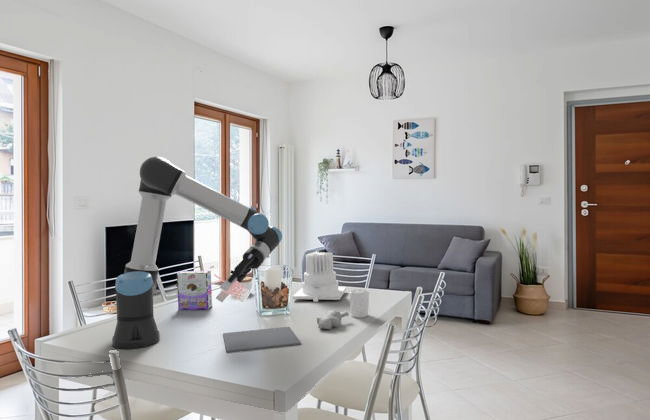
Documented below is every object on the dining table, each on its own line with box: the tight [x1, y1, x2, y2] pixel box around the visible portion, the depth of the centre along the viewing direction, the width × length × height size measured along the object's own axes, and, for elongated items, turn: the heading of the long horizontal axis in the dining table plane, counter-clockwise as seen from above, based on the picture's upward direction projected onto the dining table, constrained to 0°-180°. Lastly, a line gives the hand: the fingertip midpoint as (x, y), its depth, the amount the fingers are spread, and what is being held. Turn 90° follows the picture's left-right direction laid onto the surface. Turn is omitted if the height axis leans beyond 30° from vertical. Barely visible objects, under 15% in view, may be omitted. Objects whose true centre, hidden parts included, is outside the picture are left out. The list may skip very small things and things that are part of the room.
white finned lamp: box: [292, 251, 347, 303], centre depth 226 cm, size 25×22×21 cm
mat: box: [222, 326, 302, 354], centre depth 162 cm, size 20×24×1 cm
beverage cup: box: [213, 274, 252, 303], centre depth 166 cm, size 6×6×14 cm
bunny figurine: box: [316, 309, 350, 330], centre depth 177 cm, size 10×5×15 cm
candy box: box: [176, 270, 213, 311], centre depth 209 cm, size 14×6×16 cm, turn 84°
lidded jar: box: [241, 276, 253, 291], centre depth 238 cm, size 11×11×9 cm
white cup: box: [349, 288, 370, 319], centre depth 190 cm, size 8×8×10 cm
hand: (221, 294), depth 162 cm, fingers closed on beverage cup, 6 cm apart
